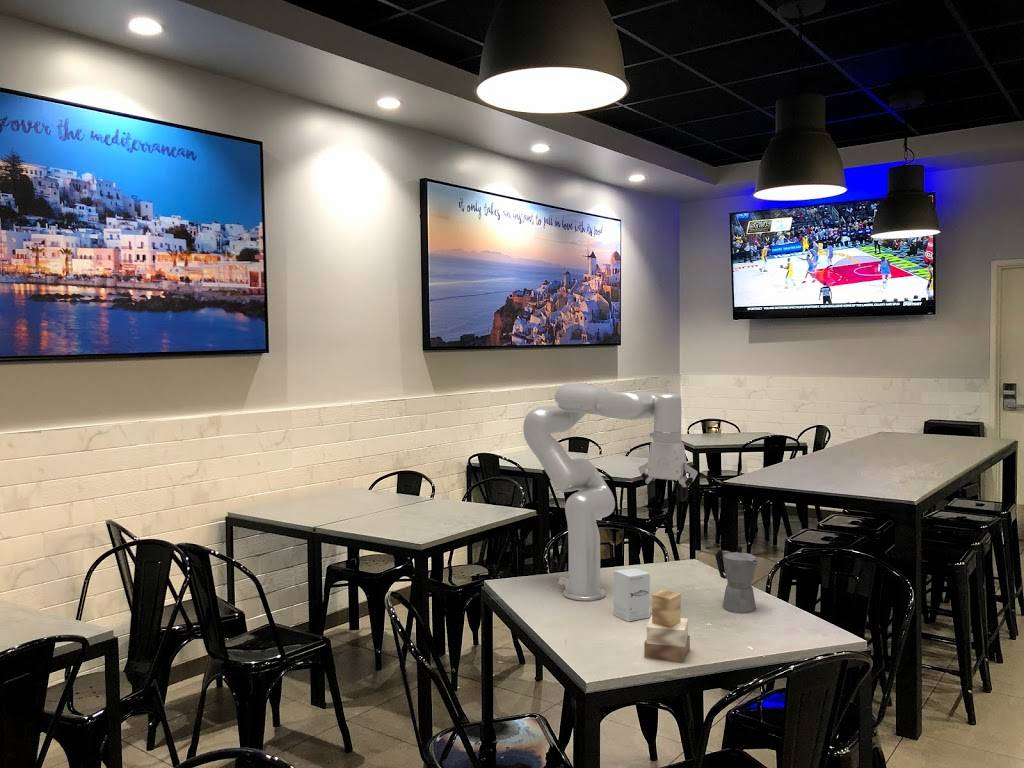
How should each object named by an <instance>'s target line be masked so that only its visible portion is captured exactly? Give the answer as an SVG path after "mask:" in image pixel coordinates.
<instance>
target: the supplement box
mask: <svg viewBox="0 0 1024 768" xmlns="http://www.w3.org/2000/svg"><path fill="white" fill-rule="evenodd" d="M650 577H651V575H650V572H648V571H645V570H643V569H639V568H636V567H632V568H631V567H630V568H624V569H617V570H613V616H616V617H618V618H619V619H621V620H624V621H626V622H628V623H630V622H632V621H633V622H634V621H636V620H637V621H638V620H643V619H650V601H651V600H650V599H651V598H650V596H651V595H650V593H651V592H650V590H651V589H650V586H651V585H650V584H651V583H650V580H651V579H650Z"/></svg>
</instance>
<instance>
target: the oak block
mask: <svg viewBox="0 0 1024 768" xmlns="http://www.w3.org/2000/svg"><path fill="white" fill-rule="evenodd" d="M681 598H682V597H681V593H680V592H673V591H671V590H670V591H669V590H665V589H661V590H659V591H657V592H655V593H653V594H651V615H652V623H653V624H657V625H661V626H665V627H670V628H671V627H672V626H674V625H676V624H678V623H680V622H681V618H682V617H681V615H682V614H681V606H682V605H681V604H682V603H681Z"/></svg>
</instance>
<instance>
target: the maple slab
mask: <svg viewBox="0 0 1024 768" xmlns="http://www.w3.org/2000/svg"><path fill="white" fill-rule="evenodd" d="M688 635H689V618H687V617H686V618H684V617H681V622H680V623H678V624H676V625H674V626H672V627H671V628H670V627H665V626H661V625H657V624H653V623H652V614H651V615H650V617H649V621H648V623H647V625H646V640H647V644H657V645H668V646H679V647H685V645H686V641H687V637H688Z"/></svg>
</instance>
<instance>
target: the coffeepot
mask: <svg viewBox="0 0 1024 768" xmlns="http://www.w3.org/2000/svg"><path fill="white" fill-rule="evenodd" d="M743 548H744V547H743V546H741V545H737V546H736V551H735V552H731V551H730V550H729V551H728V550H725V549H719V550H718V551H717V552H716V553H715V560H716V564H717V568H718V569H717V570H718V573H719V576H720V578H722V579H724V580H727V583H726V586H725V590H724V596H723V602H722V608H723V609H724V610H725V611H727V612H730V613H735V614H751V613H753V611H754V612H755V611H756V610H757V605H756V600H755V599H756V598H755V593H754V588H753V586H752V581H754V576H755V571H756V566H757V565H759V564H760V561H759V560H758V559H757V556H755V555H753V554H751V553H747V552H742V551H743ZM750 612H751V613H750Z"/></svg>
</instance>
